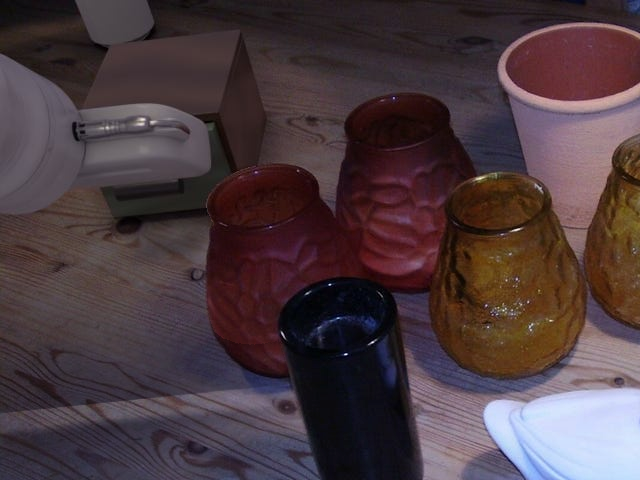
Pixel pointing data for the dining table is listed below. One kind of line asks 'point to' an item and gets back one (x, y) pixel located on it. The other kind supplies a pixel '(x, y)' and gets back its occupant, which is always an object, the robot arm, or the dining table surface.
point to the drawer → (170, 187)
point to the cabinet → (189, 86)
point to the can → (116, 20)
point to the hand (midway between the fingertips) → (99, 177)
